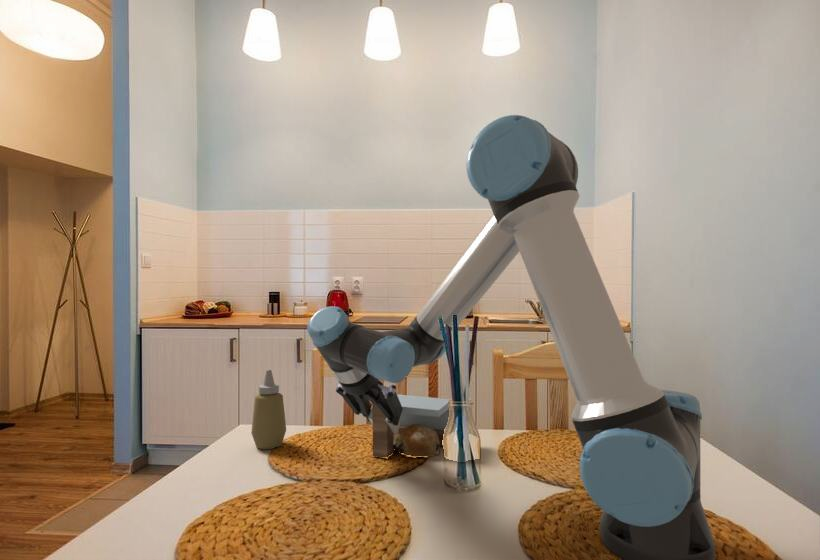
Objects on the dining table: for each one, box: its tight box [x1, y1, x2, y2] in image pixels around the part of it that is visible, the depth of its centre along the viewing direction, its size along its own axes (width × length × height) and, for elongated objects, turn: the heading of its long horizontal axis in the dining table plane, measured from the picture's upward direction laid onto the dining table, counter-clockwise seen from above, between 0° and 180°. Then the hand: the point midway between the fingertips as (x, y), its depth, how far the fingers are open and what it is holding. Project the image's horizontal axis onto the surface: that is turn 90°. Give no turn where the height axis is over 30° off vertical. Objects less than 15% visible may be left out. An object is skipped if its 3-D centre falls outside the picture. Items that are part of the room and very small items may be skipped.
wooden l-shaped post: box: [372, 404, 444, 457], centre depth 111 cm, size 14×15×12 cm
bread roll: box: [394, 424, 441, 458], centre depth 111 cm, size 10×10×8 cm
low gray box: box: [396, 393, 450, 430], centre depth 115 cm, size 10×16×10 cm, turn 68°
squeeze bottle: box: [251, 369, 287, 450], centre depth 115 cm, size 8×8×18 cm
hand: (388, 428), depth 111 cm, fingers closed on wooden l-shaped post, 3 cm apart
